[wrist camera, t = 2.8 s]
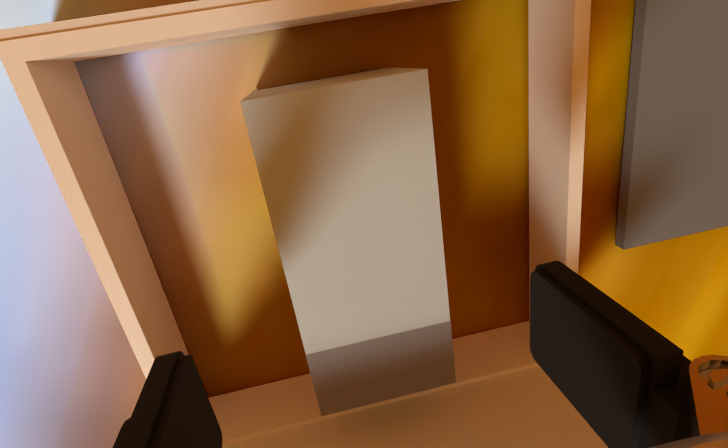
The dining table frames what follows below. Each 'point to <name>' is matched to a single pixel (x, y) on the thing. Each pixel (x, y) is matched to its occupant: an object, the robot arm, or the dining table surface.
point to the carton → (297, 395)
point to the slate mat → (675, 123)
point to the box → (358, 230)
